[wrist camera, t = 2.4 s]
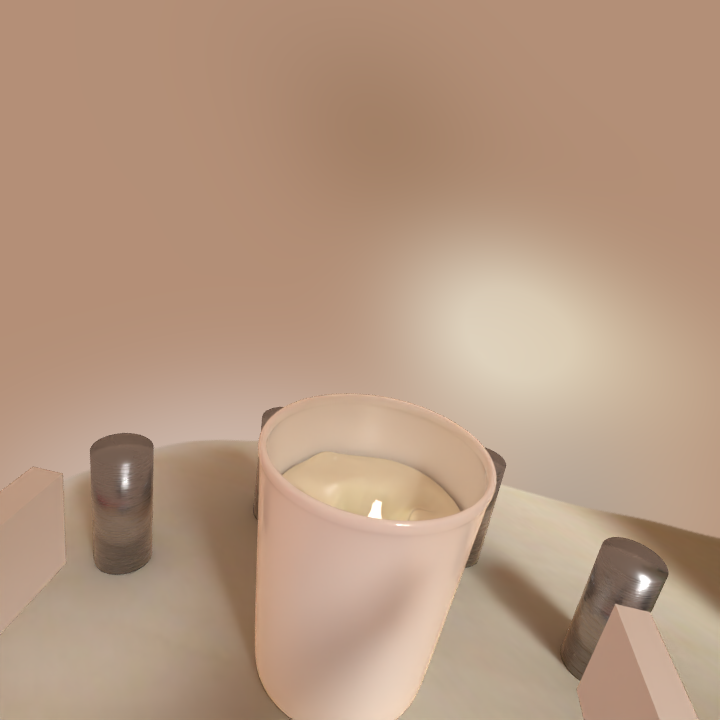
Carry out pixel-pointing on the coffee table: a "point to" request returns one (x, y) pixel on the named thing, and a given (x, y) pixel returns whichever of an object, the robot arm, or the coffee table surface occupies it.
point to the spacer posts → (135, 512)
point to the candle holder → (360, 550)
